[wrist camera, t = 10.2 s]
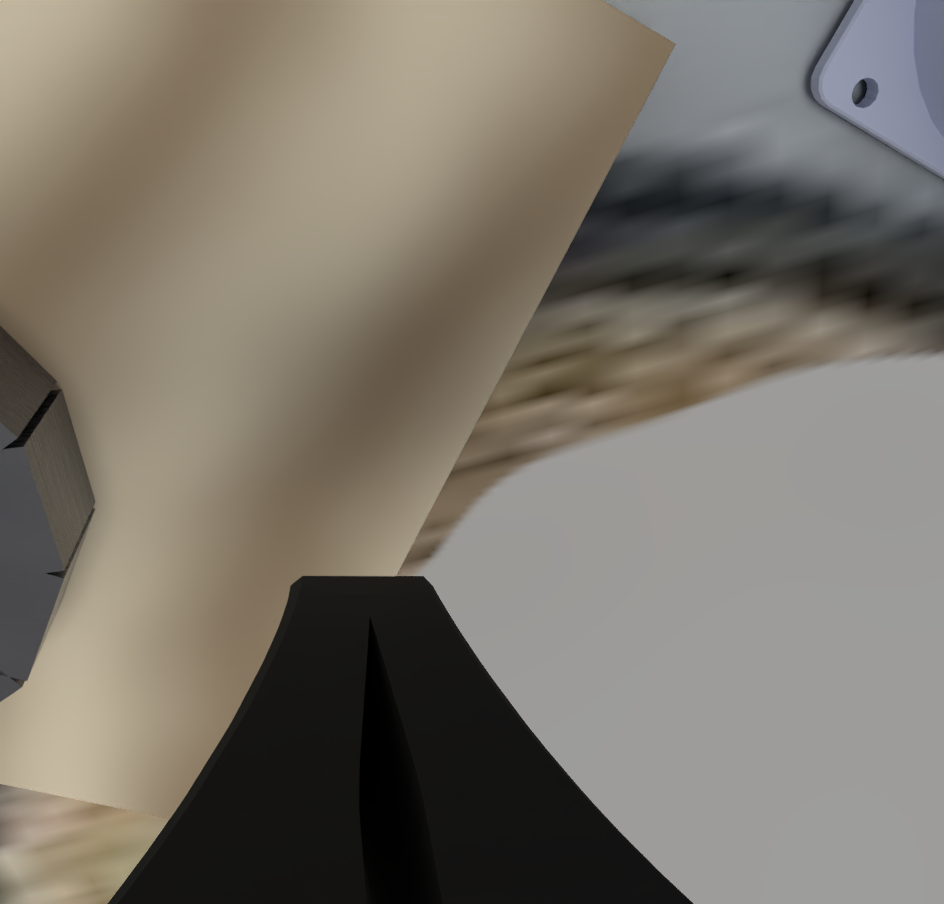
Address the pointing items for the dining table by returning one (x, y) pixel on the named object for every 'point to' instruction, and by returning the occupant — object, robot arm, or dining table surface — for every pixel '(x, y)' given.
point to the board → (269, 313)
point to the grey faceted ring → (35, 508)
